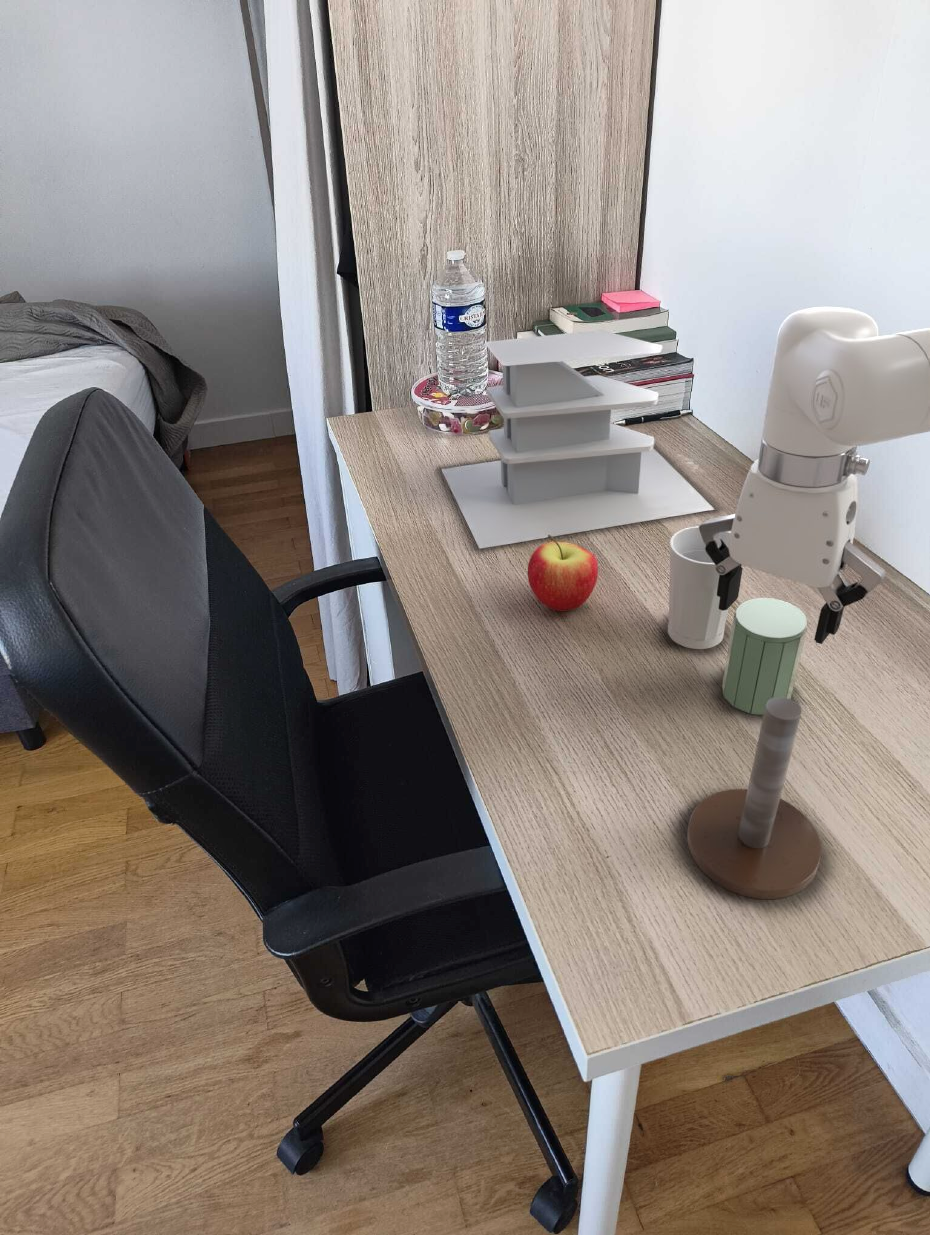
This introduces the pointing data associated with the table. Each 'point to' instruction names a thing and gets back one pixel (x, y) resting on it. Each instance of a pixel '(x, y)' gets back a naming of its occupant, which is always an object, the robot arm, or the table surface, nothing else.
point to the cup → (694, 592)
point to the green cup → (763, 653)
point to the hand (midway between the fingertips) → (774, 619)
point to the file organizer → (566, 448)
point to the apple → (562, 575)
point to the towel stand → (758, 821)
